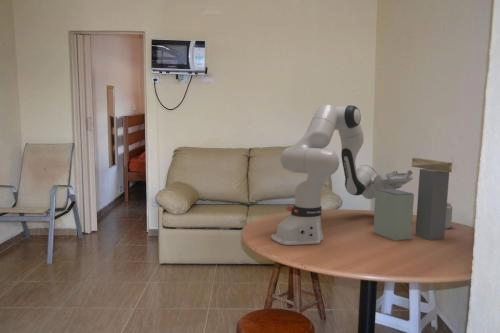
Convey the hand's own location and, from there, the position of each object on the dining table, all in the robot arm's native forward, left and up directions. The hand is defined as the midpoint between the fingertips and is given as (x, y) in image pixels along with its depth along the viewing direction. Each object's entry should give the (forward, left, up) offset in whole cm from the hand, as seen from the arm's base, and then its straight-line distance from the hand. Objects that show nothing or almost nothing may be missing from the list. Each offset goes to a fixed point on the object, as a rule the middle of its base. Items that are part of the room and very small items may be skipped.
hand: (403, 172), depth 210 cm
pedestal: (0, -18, -27) cm, 32 cm away
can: (+19, -8, -27) cm, 34 cm away
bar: (0, -16, +3) cm, 16 cm away
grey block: (-15, -10, -27) cm, 32 cm away
